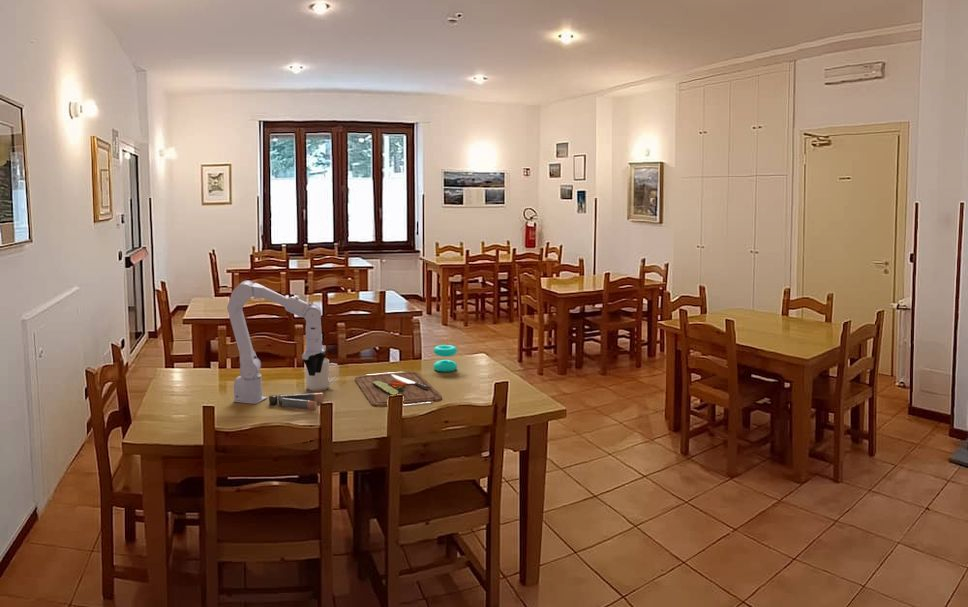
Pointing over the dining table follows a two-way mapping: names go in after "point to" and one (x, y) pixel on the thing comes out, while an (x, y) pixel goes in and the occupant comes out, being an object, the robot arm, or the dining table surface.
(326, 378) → the mug
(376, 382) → the chopping board
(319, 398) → the bar
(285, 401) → the base
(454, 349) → the donuts
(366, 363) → the dining table surface
